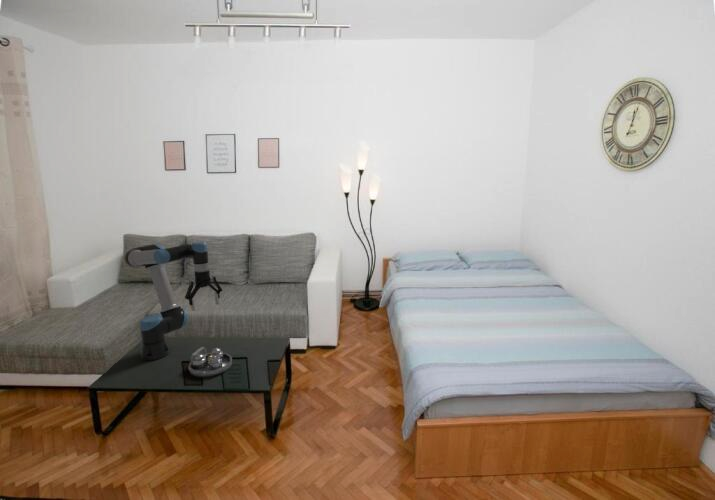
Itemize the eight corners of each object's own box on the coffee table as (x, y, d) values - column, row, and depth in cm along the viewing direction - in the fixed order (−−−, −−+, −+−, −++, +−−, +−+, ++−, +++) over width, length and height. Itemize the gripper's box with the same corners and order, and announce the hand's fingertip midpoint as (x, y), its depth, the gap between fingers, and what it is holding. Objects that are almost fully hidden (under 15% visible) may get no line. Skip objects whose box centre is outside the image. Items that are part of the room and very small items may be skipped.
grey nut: (212, 372, 208) (211, 362, 207) (206, 368, 213) (205, 357, 212) (224, 367, 213) (223, 357, 211) (218, 363, 218) (217, 353, 216)
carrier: (183, 367, 217) (181, 353, 216) (220, 353, 232) (219, 341, 231) (200, 382, 202) (198, 367, 200) (239, 366, 217) (238, 353, 215)
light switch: (191, 368, 215) (190, 355, 213) (204, 358, 226) (202, 345, 225) (194, 369, 215) (192, 355, 213) (206, 358, 226) (205, 346, 224)
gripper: (181, 276, 203) (185, 315, 207) (226, 267, 220) (229, 303, 224) (175, 273, 208) (179, 311, 212) (220, 265, 225) (223, 300, 230)
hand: (205, 307), depth 218 cm, fingers open, 13 cm apart
